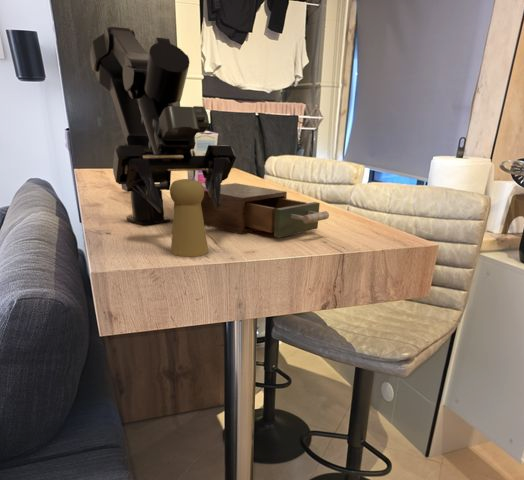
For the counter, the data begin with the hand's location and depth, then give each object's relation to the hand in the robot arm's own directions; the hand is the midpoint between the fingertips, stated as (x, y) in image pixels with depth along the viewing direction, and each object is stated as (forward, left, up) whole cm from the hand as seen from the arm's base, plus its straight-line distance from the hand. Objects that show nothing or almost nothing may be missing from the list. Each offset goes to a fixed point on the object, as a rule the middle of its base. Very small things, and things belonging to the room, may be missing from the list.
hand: (190, 209), depth 70 cm
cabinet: (-11, +21, -7) cm, 25 cm away
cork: (-1, 0, -7) cm, 7 cm away
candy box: (-29, +27, -7) cm, 41 cm away
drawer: (0, +21, -6) cm, 22 cm away
